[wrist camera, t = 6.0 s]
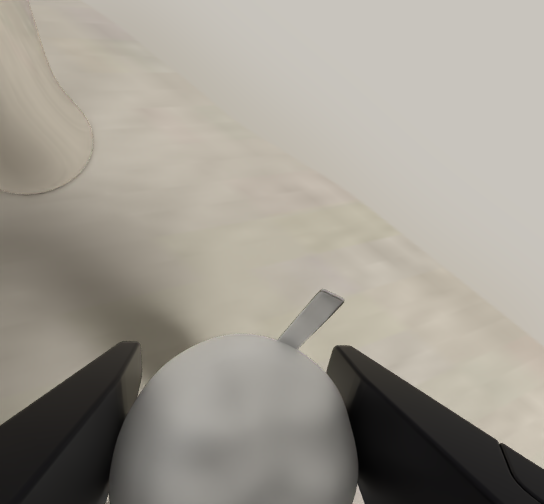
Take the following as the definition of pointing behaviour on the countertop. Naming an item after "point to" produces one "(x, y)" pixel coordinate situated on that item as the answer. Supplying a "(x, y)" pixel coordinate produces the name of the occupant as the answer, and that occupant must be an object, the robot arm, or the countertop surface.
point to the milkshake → (240, 425)
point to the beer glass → (35, 112)
